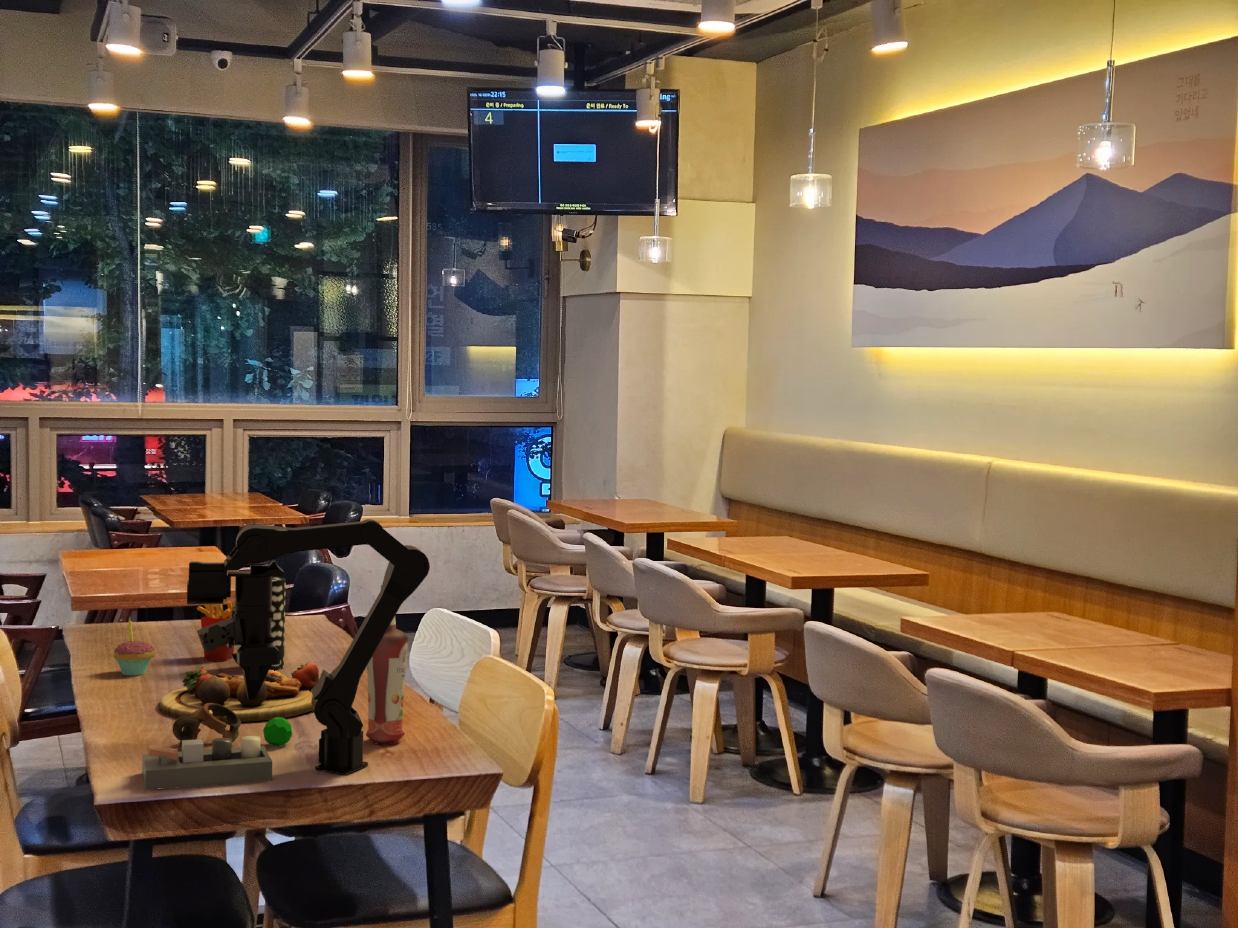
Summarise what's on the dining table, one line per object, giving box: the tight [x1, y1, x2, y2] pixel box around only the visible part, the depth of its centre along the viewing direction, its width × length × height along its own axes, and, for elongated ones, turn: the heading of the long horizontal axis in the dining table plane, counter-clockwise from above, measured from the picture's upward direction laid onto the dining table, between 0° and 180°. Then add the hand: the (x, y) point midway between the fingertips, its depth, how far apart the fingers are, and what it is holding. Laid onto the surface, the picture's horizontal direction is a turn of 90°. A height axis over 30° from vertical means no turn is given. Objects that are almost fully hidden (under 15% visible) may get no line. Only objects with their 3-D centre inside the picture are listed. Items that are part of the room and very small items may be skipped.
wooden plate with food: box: [159, 662, 320, 724], centre depth 262 cm, size 32×32×8 cm
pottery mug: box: [172, 703, 242, 748], centre depth 229 cm, size 12×10×8 cm
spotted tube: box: [269, 576, 287, 671], centre depth 296 cm, size 8×8×20 cm
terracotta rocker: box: [147, 744, 179, 760], centre depth 209 cm, size 4×3×1 cm, turn 112°
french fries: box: [196, 600, 235, 662], centre depth 304 cm, size 9×8×15 cm
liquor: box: [365, 584, 409, 746], centre depth 235 cm, size 7×7×28 cm
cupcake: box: [113, 617, 157, 677], centre depth 287 cm, size 9×8×12 cm
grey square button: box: [181, 738, 204, 763], centre depth 210 cm, size 3×3×3 cm
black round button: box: [211, 737, 233, 761], centre depth 212 cm, size 3×3×3 cm
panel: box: [141, 745, 273, 791], centre depth 211 cm, size 19×10×4 cm, turn 113°
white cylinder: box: [240, 735, 261, 758], centre depth 214 cm, size 3×3×3 cm
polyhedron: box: [262, 717, 293, 747], centre depth 231 cm, size 5×5×5 cm
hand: (251, 699), depth 213 cm, fingers closed
